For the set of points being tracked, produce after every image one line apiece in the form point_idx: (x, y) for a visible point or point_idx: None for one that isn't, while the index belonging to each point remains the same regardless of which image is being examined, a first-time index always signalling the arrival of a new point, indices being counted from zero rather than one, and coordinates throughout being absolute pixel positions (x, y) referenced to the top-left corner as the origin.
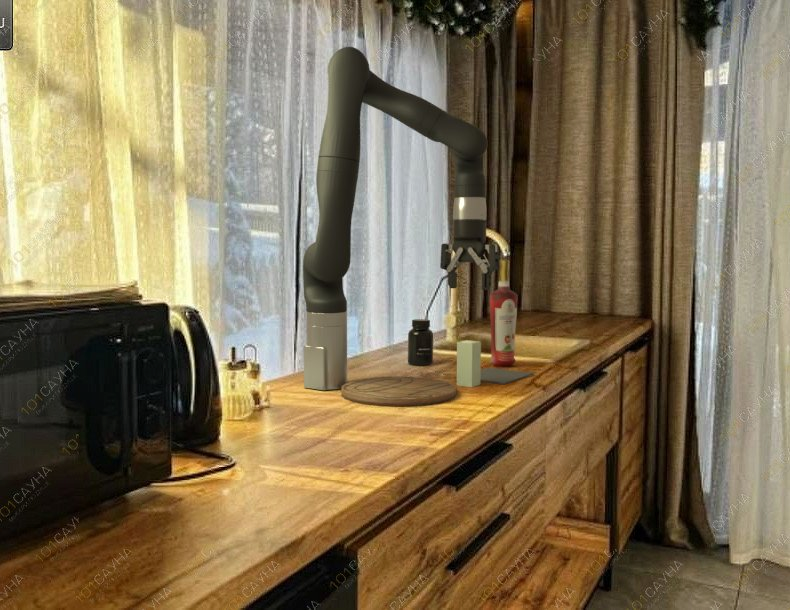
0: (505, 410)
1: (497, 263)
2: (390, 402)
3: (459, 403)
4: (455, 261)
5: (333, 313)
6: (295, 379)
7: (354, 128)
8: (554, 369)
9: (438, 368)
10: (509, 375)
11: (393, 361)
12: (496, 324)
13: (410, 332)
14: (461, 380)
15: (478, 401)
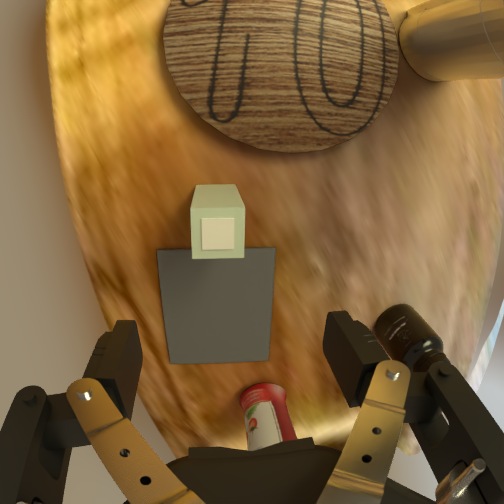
0: (47, 53)
1: (39, 455)
2: None
3: (136, 37)
4: (362, 419)
5: None
6: (488, 86)
7: None
8: (172, 408)
9: (352, 311)
10: (191, 321)
11: (437, 312)
12: (279, 440)
13: (438, 339)
14: (223, 186)
15: (113, 74)
